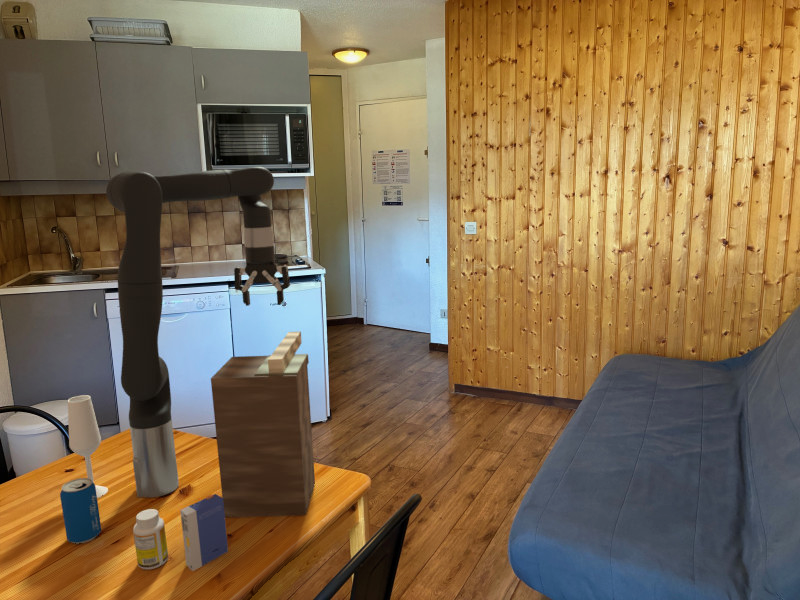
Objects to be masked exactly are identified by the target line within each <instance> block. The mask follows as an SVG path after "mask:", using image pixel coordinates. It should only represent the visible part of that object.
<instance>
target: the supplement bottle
mask: <svg viewBox="0 0 800 600" xmlns="http://www.w3.org/2000/svg"><path fill="white" fill-rule="evenodd" d="M135 519H136V523H135V524H134V526H133V528H132V532H133V539H134V546H135V553H136V554H135V555H136V561H137V562H136V563H137V566H138V567H139V568H140V569H142V570H153V569H154V570H155V569H157V568H159V567H161V566H163V565H164V564H165V563H166V562H167V560H168V559H169V551H168V543H167V534H166V527H165V521H164V519H163V518H162V517H160V514H159V511H158V510H157V509H156V508H154V509H153V508H147V509H145V510H142V511H140V512H139V513H137V515H136V517H135Z"/></svg>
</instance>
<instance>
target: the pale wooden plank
mask: <svg viewBox="0 0 800 600" xmlns="http://www.w3.org/2000/svg"><path fill="white" fill-rule="evenodd" d="M302 342H303V341H302V331H301V330H300V331H288V332H287V334H286V335H285V337H283V338H282V340H281V342H280V343H279V344H278V345H277V346H276V348H275V349H274V350H273V352H272V354H270V355H271V356H270V357H269V359H268V368H269V373H283V372H284V370H285V369H286V367H287V366H288V364H289V362H290V361H291V359H292V358H293V356H294V354H297V352H298V349H299V348H300V346H301V345H302Z"/></svg>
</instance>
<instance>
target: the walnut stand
mask: <svg viewBox="0 0 800 600" xmlns="http://www.w3.org/2000/svg"><path fill="white" fill-rule="evenodd" d="M271 355H272V354H269V355H247V356H246V355H245V356H242V355H241V356H231V357H230V358H229V359H228V360H227V361H226V362H225V364H223V365H222V366H221V367H220V368H219V370H217V371H216V373H214V374H213V376H212V377H211V378H210V383H211V384H210V385H211V395H212V404H213V405H212V407H213V417H214V426H215V435H216V447H217V456H218V457H217V458H218V467H219V476H220V477H219V478H220V485H221V486H220V487H221V488H220V489H221V497H222V498H223V503H224V513H225V519H226V518H253V517H255V518H256V517H259V518H260V517H282V516H283V517H287V516H288V517H290V516H291V517H292V516H307V513H308V509H309V505H310V502H311V499H312V496H311V495H313V492H314V489H313V488H315V485H314V484H316V481H315V480H316V478H315V477H316V476H315V463H314V448H313V433H312V431H313V430H312V419H311V417H312V416H311V414H312V413H311V401H310V386H309V372H308V371H309V370H308V365H309V354H308V353H298V354H297V353H295V354H294V356H293V358H292V359H291V361H290V362H289V364H288V366H287V367H286V369H285V370H284V372H283V373H269V368H268V359H269V357H270V356H271Z"/></svg>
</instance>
